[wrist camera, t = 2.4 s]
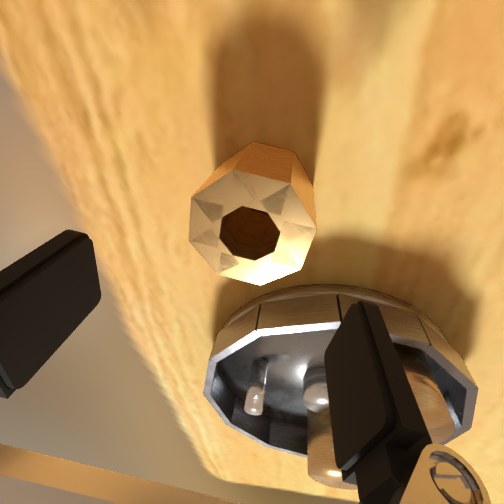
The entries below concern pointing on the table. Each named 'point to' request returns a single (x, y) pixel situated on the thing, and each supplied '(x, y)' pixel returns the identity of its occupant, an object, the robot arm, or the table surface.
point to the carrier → (313, 371)
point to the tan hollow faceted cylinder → (254, 215)
